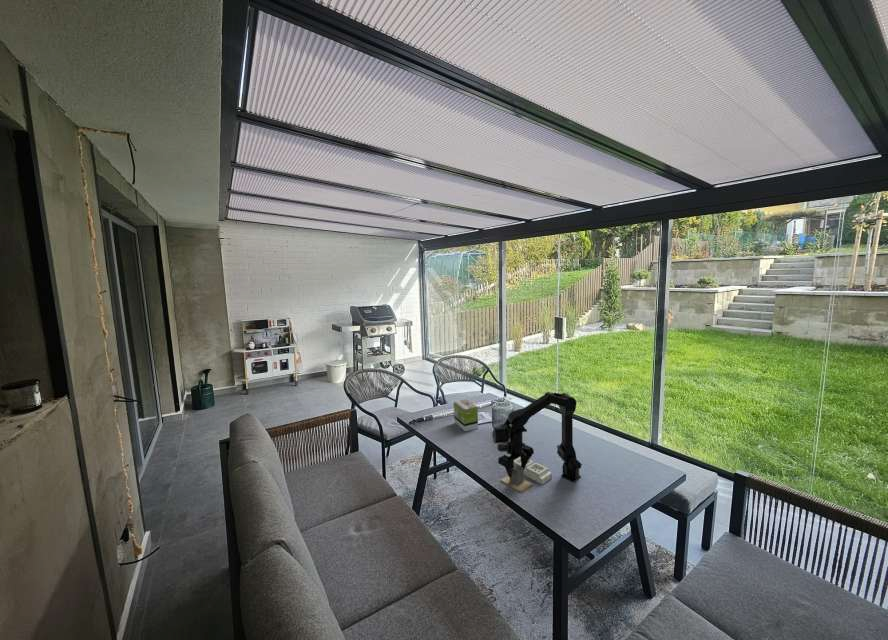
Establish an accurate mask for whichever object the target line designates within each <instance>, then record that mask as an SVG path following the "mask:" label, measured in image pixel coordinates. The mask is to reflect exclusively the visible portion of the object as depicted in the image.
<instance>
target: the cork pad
mask: <svg viewBox="0 0 888 640" xmlns="http://www.w3.org/2000/svg"><path fill="white" fill-rule="evenodd" d="M500 482H502V483H504V484H505V485H507V486H509V487H511V488H512V489H514V490H516V491H518V492H520V494H521V493H523V492H525V491H527V490H528V489H529V488H531V487H532V486H533V485H534V484H533V483H532V482H530V481H528V480H526V479H524V478H523V482H522V483H521V484H519V485H518V486H517V485H515V484H513V483H511V482H510V477H509V476H508V475H506V476H504V477H503V478H501V479H500Z"/></svg>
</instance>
